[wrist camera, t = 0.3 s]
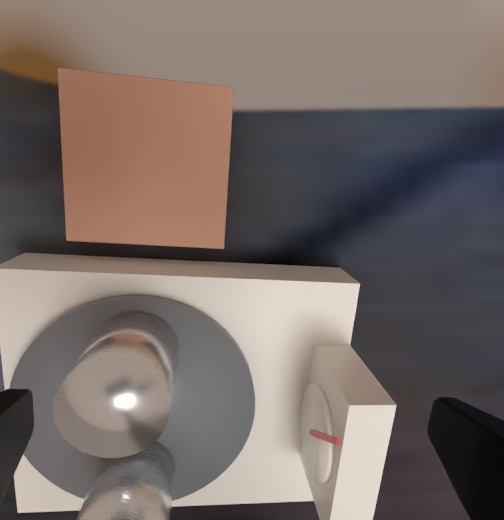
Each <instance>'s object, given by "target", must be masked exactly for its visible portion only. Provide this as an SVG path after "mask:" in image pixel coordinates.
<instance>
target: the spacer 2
mask: <svg viewBox="0 0 504 520" xmlns="http://www.w3.org/2000/svg"><path fill="white" fill-rule="evenodd" d="M175 469H176V467H175V460H174V458H173V456H172V454H171V452H170V451H169V450H168V449H167V448H166V447H165V446H164V445H162V444H161V443H159V442H157V441H155V442H154V443H153V444H152V445H151V446H149V447H148V448H146V449H145V450H143V451H141V452H139V453H136V454H134V455H130V456H126V457H121V458H103V457H100V459H99V462H98V464H97V467H96V470H95V472H94V475H93V478H92V480H91V483H90V486H89V488H88V491H87V494H86V496H85V499H84V502H83V504H82V507H81V510H80V512H79V515H78V518H77V520H170V513H171V504H172V495H173V486H174V478H175Z"/></svg>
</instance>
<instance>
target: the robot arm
mask: <svg viewBox="0 0 504 520" xmlns="http://www.w3.org/2000/svg"><path fill="white" fill-rule="evenodd" d="M33 429H34V406H33V394H32V391H31V390H30V389H18V388H10V389H6V390H4V391H2V392H0V504H1V502H2V499H3V497H4V495H5V493H6V491H7V489H8V486H9V484H10V482H11V480H12V478H13V475H14V473H15V471H16V469H17V467H18V465H19V462H20V460H21V458H22V456H23V454H24V452H25V449H26V447H27V445H28V443H29V441H30V438H31V436H32V433H33ZM427 433H428V437H429V439H430V441H431V443H432V445H433V447H434V449H435V451H436V453H437V455H438V457H439V460H440V462H441V464H442V466H443V468H444V470H445V472H446V474H447V476H448V478H449V480H450V482H451V484H452V486H453V488H454V490H455V492H456V493H457V495H458V497H459V499H460V501H461V503H462V505H463V507H464V508H465V510H466V512H467V513H468V515H469V517H470V518H471V520H504V421H503V420H501V419H499V418H497V417H494V416H492V415H490V414H488V413H486V412H484V411H481V410H479V409H477V408H475V407H473V406H471V405H469V404H466V403H464V402H462V401H460V400H458V399H456V398H452V397H438V398H436V399H435V400H434V402H433V405H432V409H431V413H430V417H429V421H428V425H427Z"/></svg>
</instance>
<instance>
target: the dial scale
mask: <svg viewBox="0 0 504 520" xmlns="http://www.w3.org/2000/svg"><path fill="white" fill-rule="evenodd" d="M359 288H360V283H359V282H357V281H356V280H355V279H354V278H352V277H351V276H350V275H349V274H347V273H346V272H345V271H343V270H342V269H341V268H338V267H317V266H296V265H274V264H253V263H232V262H211V261H190V260H169V259H148V258H127V257H106V256H85V255H64V254H42V253H23V254H21V255H19V256H17V257H15V258H13V259H11V260H8V261H6V262H4V263H2V264H0V350H1V359H2V369H3V378H4V387H5V390H6V389H10V388H18V389H30V390H31V391H32V394H33V406H34V429H33V433H32V436H31V438H30V441H29V443H28V445H27V447H26V449H25V452H24V454H23V456H22V458H21V460H20V462H19V465H18V467H17V469H16V471H15V473H14V482H15V491H16V501H17V510H18V513H26V512H51V511H76V510H81V507H82V504H83V502H84V499H85V496H86V494H87V491H88V488H89V486H90V483H91V480H92V478H93V475H94V472H95V470H96V467H97V464H98V462H99V459H100V457H97V456H93V455H90V454H87V453H84V452H82V451H80V450H78V449H77V448H75V447H74V446H72V445H71V444H70V443H68V442H67V441H66V440H65V439H64V437H63V436H62V435H61V433H60V432H59V431H58V428H57V426H56V424H55V421H54V417H53V402H54V398H55V395H56V392H57V391H58V389H59V387H60V385H61V384H62V382H63V381H64V380H65V378H66V377H67V375H68V374H69V372H70V371H71V369H72V368H73V366H74V365H75V363H76V362H77V360H78V359H79V357H80V356H81V354H82V353H83V351H84V350H85V348H86V347H87V346H88V344H89V343H90V341H91V340H92V338H93V337H94V335H95V334H96V332H97V331H98V329H99V328H100V327H101V325H102V324H103V323H104V322H105V321H106V320H108V319H109V318H111V317H112V316H114V315H116V314H119V313H122V312H125V311H136V310H137V311H145V312H149V313H152V314H155V315H157V316H159V317H160V318H162V319H164V320H165V321H166V322H167V323H168V324H169V325H170V326H171V327H172V329H173V330H174V331H175V333H176V335H177V338H178V342H179V357H178V363H177V369H176V375H175V382H174V388H173V394H172V400H171V406H170V412H169V418H168V422H167V425H166V427H165V429H164V431H163V433H162V434H161V436H160V437H159V438H158V439H157V440H156V441H157V442H159V443H161V444H162V445H164V446H165V447H166V448H167V449H168V450H169V451H170V452H171V454H172V456H173V458H174V460H175V467H176V469H175V478H174V486H173V495H172V504H171V507H175V506H200V505H224V504H249V503H274V502H299V501H314V502H315V506H316V509H317V512H318V515H319V519H320V520H373V516H374V511H375V506H376V501H377V497H378V492H379V487H380V482H381V477H382V473H383V468H384V463H385V458H386V453H387V449H388V444H389V439H390V434H391V429H392V425H393V420H394V415H395V410H396V404H395V402H394V401H393V400H392V399H391V397H390V396H389V395H388V393H387V392H386V391H385V390H384V388H383V387H382V386H381V384H380V383H379V382H378V381H377V379H376V378H375V377H374V375H373V374H372V373H371V372H370V370H369V369H368V368H367V366H366V365H365V364H364V363H363V361H362V360H361V359H360V357H359V356H358V355H357V353H356V352H355V351H354V350H353V348H352V347H351V346H350V343H351V337H352V330H353V324H354V318H355V312H356V306H357V300H358V294H359Z"/></svg>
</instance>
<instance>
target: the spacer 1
mask: <svg viewBox="0 0 504 520" xmlns="http://www.w3.org/2000/svg"><path fill="white" fill-rule="evenodd" d="M178 357H179V342H178V338H177V335H176V333H175V331H174V330H173V329H172V327H171V326H170V325H169V324H168V323H167V322H166V321H165V320H164V319H162V318H160V317H159V316H157V315H155V314H152V313H149V312H145V311H137V310H136V311H125V312H122V313H119V314H116V315H114V316H112V317H111V318H109V319H108V320H106V321H105V322H104V323H103V324H102V325H101V327H100V328H99V329H98V331H97V332H96V334H95V335H94V337H93V338H92V340H91V341H90V343H89V344H88V346H87V347H86V348H85V350H84V351H83V353H82V354H81V356H80V357H79V359H78V360H77V362H76V363H75V365H74V366H73V368H72V369H71V371H70V372H69V374H68V375H67V377H66V378H65V380H64V381H63V382H62V384H61V385H60V387H59V389H58V391H57V392H56V395H55V398H54V402H53V417H54V421H55V424H56V426H57V428H58V431H59V432H60V433H61V435H62V436H63V437H64V439H65V440H66V441H67V442H68V443H70V444H71V445H72V446H74V447H75V448H77V449H78V450H80V451H82V452H84V453H87V454H90V455H93V456H97V457H103V458H121V457H126V456H130V455H134V454H136V453H139V452H141V451H143V450H145V449H146V448H148V447H149V446H151V445H152V444H153V443H154V442H155V441H156V440H157V439H158V438H159V437H160V436H161V434H162V433H163V431H164V429H165V427H166V425H167V422H168V418H169V412H170V406H171V400H172V394H173V388H174V382H175V375H176V369H177V363H178Z"/></svg>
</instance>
